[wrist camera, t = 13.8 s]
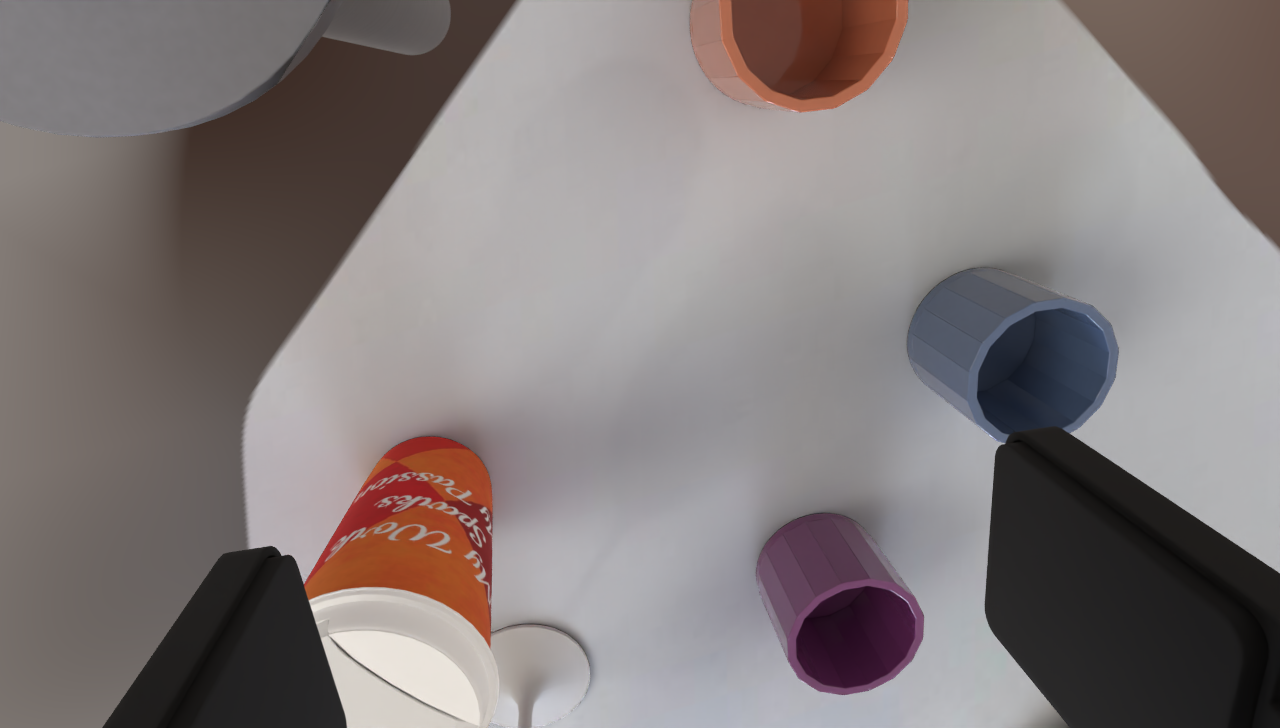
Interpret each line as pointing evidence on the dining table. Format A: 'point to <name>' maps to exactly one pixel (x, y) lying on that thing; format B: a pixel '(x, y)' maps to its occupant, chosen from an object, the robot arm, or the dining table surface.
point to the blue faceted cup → (1012, 352)
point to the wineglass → (537, 675)
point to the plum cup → (837, 605)
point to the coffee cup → (412, 592)
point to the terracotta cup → (795, 48)
